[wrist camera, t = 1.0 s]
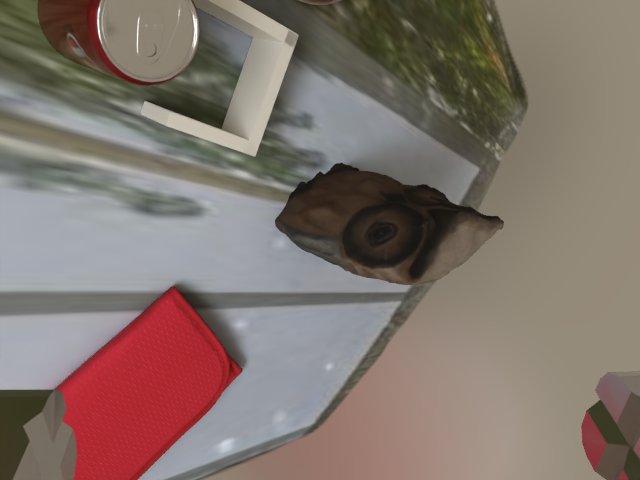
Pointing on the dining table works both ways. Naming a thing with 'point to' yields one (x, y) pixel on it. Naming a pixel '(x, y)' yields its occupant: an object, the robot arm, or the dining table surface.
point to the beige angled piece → (241, 80)
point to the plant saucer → (319, 1)
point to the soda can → (124, 36)
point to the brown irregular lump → (383, 226)
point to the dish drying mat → (144, 390)
